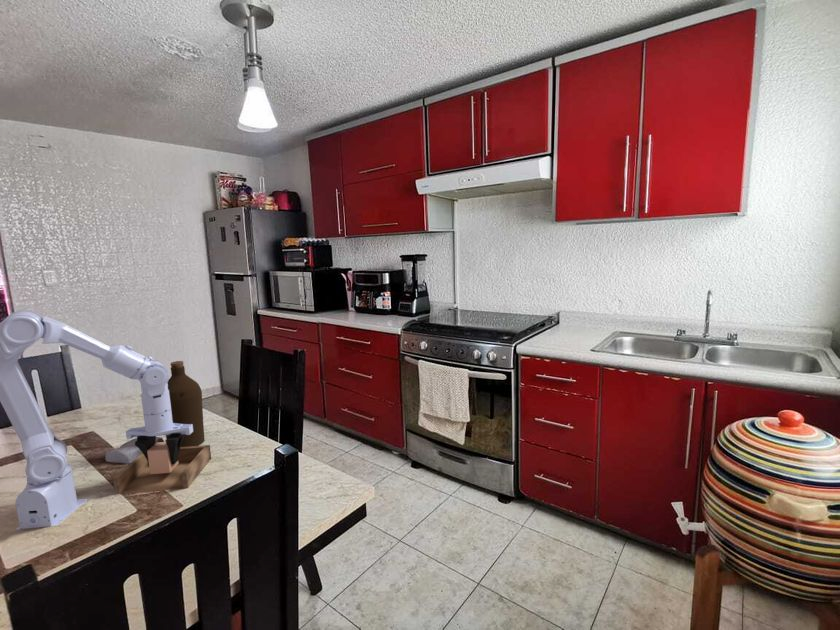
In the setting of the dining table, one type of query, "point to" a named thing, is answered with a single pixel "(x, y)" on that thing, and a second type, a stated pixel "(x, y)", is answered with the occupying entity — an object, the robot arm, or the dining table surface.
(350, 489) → the dining table surface
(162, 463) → the block
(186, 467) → the box
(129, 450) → the stone block
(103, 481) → the dining table surface
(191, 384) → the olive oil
